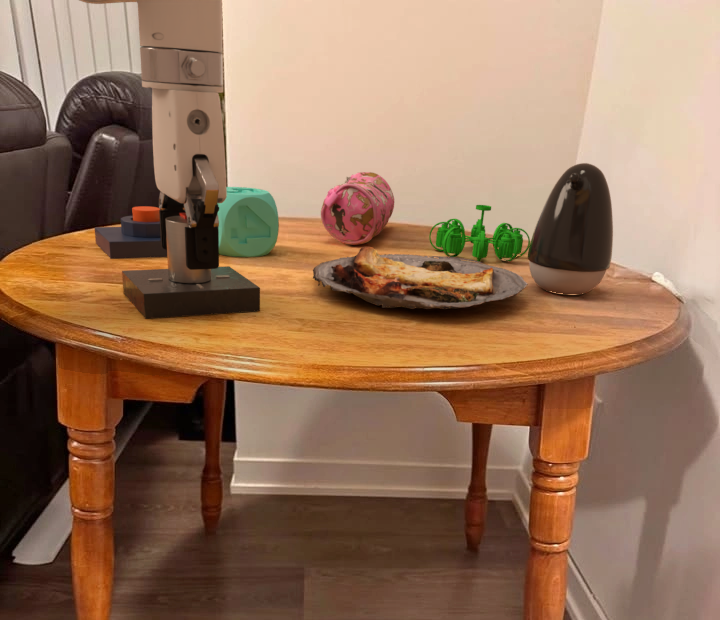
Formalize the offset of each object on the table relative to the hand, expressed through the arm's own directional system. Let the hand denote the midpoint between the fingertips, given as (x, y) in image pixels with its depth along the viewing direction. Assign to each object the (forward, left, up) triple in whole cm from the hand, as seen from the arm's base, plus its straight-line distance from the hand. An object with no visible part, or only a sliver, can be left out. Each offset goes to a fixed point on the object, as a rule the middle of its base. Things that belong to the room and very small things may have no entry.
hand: (188, 258), depth 81 cm
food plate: (+27, -2, -5) cm, 28 cm away
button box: (+2, +27, -5) cm, 27 cm away
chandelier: (+49, +17, -5) cm, 52 cm away
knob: (0, 0, -2) cm, 2 cm away
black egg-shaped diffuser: (+47, -5, -5) cm, 48 cm away
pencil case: (+37, +33, -5) cm, 50 cm away
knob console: (0, 0, -5) cm, 5 cm away
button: (+2, +27, -1) cm, 27 cm away
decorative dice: (+14, +24, -5) cm, 28 cm away
